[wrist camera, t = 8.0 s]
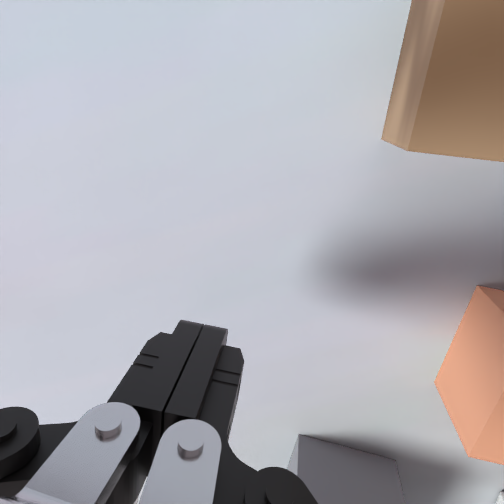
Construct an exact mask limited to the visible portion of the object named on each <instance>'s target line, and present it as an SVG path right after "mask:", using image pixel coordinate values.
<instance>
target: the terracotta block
mask: <svg viewBox="0 0 504 504" xmlns="http://www.w3.org/2000/svg"><path fill="white" fill-rule="evenodd" d="M434 383H435V385H436V387H437V390H438V392H439V394H440V396H441V398H442V400H443V403H444V405H445V407H446V409H447V411H448V414H449V416H450V418H451V420H452V422H453V424H454V427H455V429H456V431H457V433H458V435H459V437H460V440H461V442H462V444H463V446H464V448H465V451H466V453H467V455H468V457H472V458H476V459H480V460H485V461H489V462H493V463H497V464H502V465H504V291H502V290H497V289H493V288H488V287H483V286H478V285H477V287H476V289H475V291H474V293H473V296H472V298H471V300H470V302H469V305H468V307H467V309H466V311H465V314H464V316H463V318H462V320H461V323H460V325H459V327H458V329H457V332H456V334H455V336H454V338H453V341H452V343H451V345H450V347H449V350H448V352H447V354H446V356H445V359H444V361H443V363H442V365H441V368H440V370H439V372H438V375H437V377H436V379H435V381H434Z"/></svg>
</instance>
